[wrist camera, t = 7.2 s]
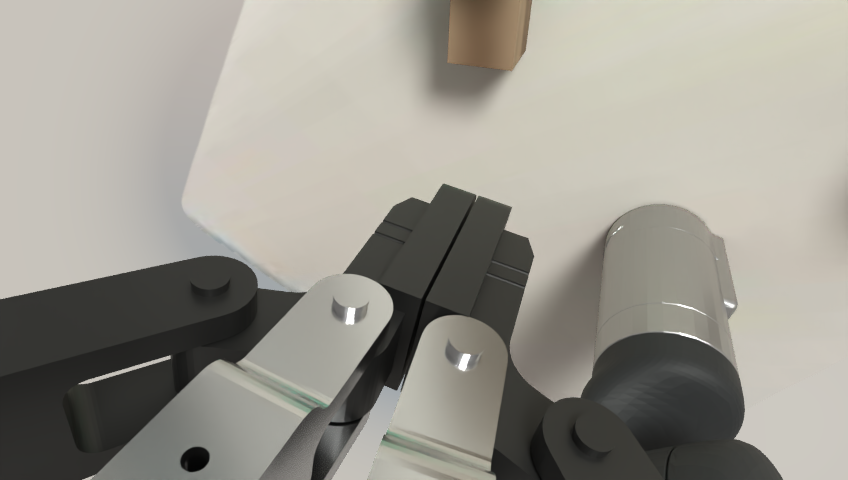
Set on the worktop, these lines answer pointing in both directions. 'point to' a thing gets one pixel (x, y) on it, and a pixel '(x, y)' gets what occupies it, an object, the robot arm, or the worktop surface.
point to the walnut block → (488, 32)
